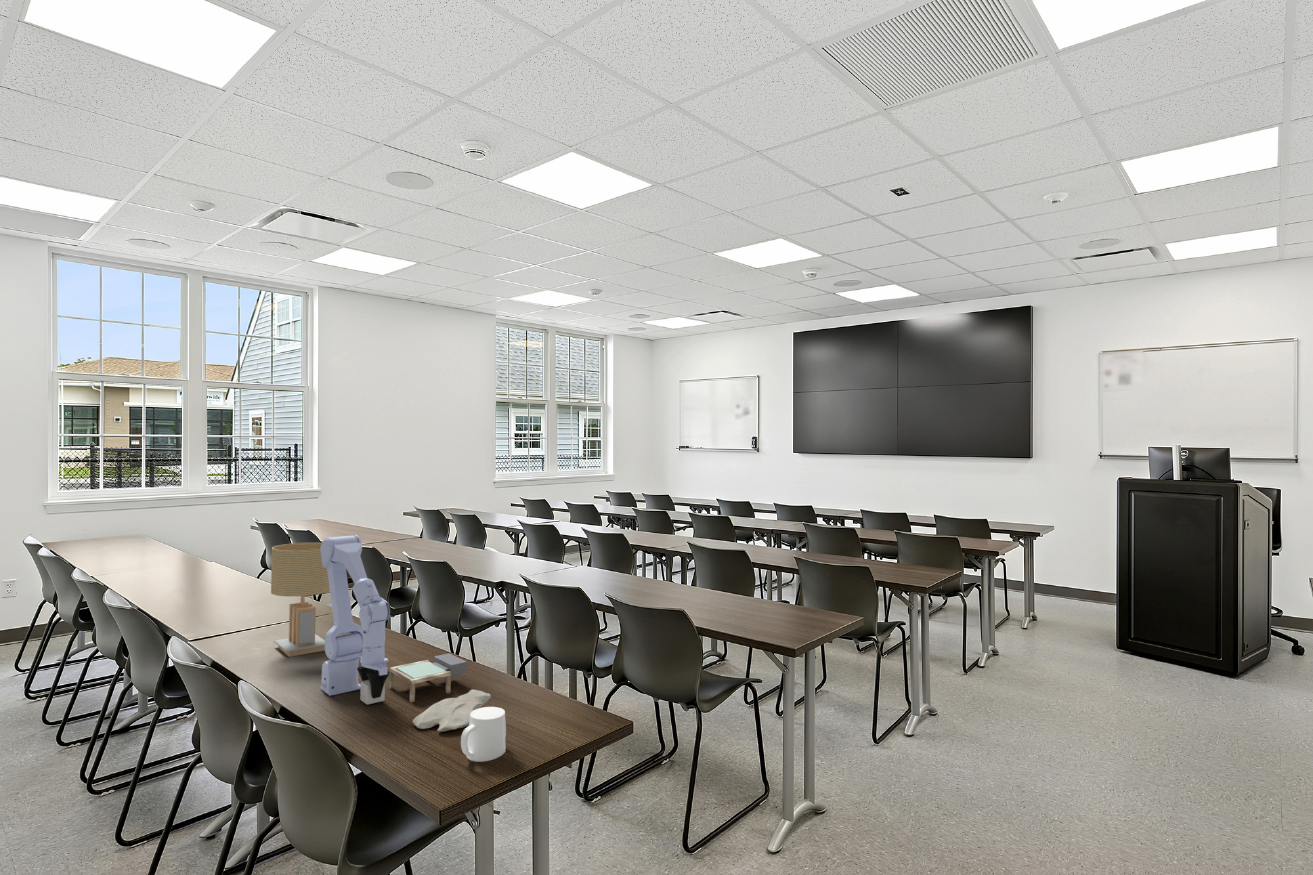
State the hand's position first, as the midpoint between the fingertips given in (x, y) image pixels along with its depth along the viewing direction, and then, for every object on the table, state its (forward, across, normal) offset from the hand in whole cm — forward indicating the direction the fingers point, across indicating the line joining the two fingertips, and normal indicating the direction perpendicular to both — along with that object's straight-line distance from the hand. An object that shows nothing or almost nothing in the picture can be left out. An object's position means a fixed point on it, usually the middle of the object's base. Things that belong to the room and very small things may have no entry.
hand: (372, 694), depth 195 cm
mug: (+2, -50, -6) cm, 50 cm away
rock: (+2, -28, -12) cm, 30 cm away
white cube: (+2, 0, 0) cm, 2 cm away
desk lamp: (+2, +64, -1) cm, 64 cm away
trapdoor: (-2, 0, -17) cm, 17 cm away
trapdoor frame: (+2, 0, -14) cm, 14 cm away
